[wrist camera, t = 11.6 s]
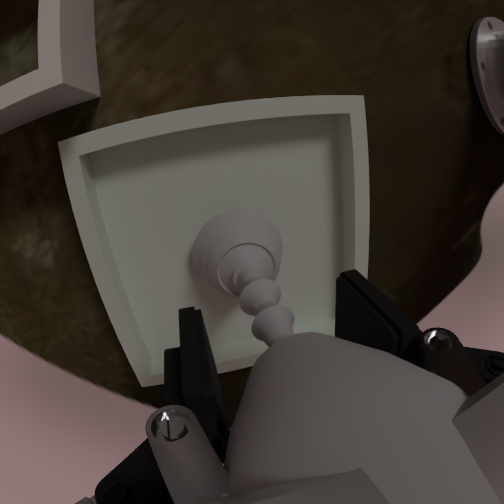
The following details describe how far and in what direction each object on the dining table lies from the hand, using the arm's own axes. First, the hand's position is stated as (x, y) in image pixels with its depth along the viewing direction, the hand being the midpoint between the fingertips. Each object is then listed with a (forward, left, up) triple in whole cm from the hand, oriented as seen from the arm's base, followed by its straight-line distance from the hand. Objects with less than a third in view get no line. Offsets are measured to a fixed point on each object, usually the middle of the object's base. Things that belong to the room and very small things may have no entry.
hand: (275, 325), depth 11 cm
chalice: (0, 0, -7) cm, 7 cm away
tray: (0, 0, -9) cm, 9 cm away
